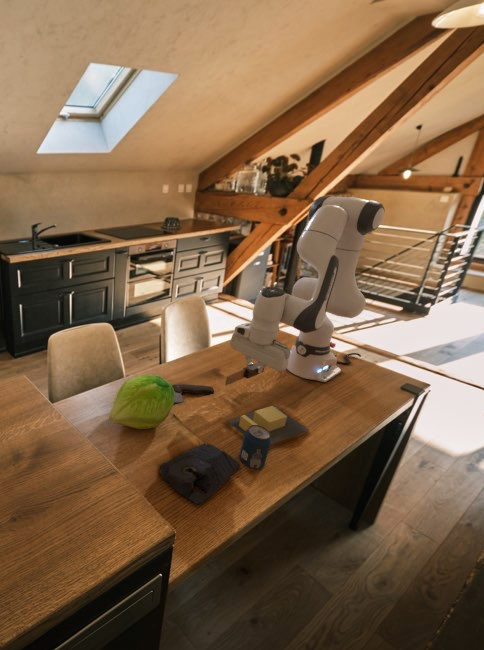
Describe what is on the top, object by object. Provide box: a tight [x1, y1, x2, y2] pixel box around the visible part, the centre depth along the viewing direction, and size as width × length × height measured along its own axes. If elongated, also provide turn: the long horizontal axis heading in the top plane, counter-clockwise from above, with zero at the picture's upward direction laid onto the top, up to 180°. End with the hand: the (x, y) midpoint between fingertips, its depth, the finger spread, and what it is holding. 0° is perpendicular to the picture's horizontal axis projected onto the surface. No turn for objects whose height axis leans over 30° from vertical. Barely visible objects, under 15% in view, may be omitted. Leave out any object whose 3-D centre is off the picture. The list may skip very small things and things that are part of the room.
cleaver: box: [171, 384, 215, 404], centre depth 142 cm, size 29×10×2 cm, turn 94°
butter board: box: [226, 404, 309, 446], centre depth 126 cm, size 22×14×6 cm, turn 114°
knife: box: [224, 361, 265, 386], centre depth 131 cm, size 19×2×4 cm, turn 122°
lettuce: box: [108, 374, 175, 430], centre depth 124 cm, size 19×25×17 cm
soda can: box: [238, 425, 272, 470], centre depth 110 cm, size 7×7×12 cm
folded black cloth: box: [159, 443, 241, 505], centre depth 108 cm, size 15×22×5 cm
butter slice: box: [239, 414, 257, 431], centre depth 122 cm, size 2×6×4 cm, turn 25°
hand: (253, 369), depth 134 cm, fingers closed on knife, 2 cm apart
